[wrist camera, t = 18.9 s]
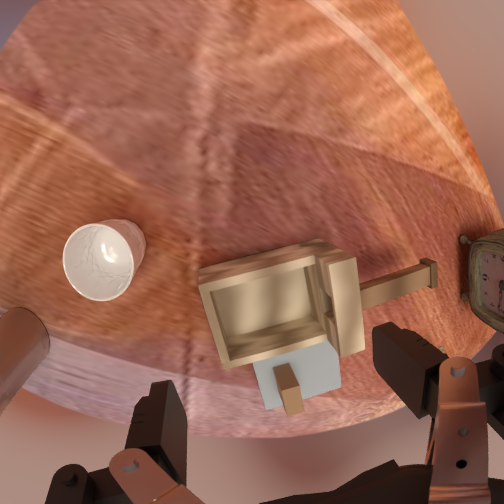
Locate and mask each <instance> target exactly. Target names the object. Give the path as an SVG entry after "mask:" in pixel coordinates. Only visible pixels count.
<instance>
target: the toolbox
mask: <svg viewBox="0 0 504 504" xmlns="http://www.w3.org/2000/svg"><path fill="white" fill-rule="evenodd" d="M198 288H199V291H200V295H201V298H202V301H203V305H204V308H205V311H206V315H207V318H208V321H209V325H210V328H211V331H212V334H213V337H214V340H215V344H216V347H217V350H218V353H219V356H220V359H221V362H222V365H223V368H224V369H228V368H233V367H237V366H241V365H245V364H248V363H252V362H256V361H260V360H264V359H267V358H271V357H274V356H278V355H282V354H285V353H288V352H292V351H295V350H299V349H302V348H305V347H308V346H312V345H315V344H318V343H321V342H324V341H327V340H328V341H329V343H330V344H331V345H332V347H333V348H334V349H335V351H336V352H337V353H338V354H339V356H340V357H341V358H342V357H345V356H348V355H350V354H353V353H356V352H359V351H361V350H364V349H365V341H364V328H363V317H362V306H361V296H360V287H359V279H358V270H357V263H356V257H354V256H352V255H350V254H349V253H347V252H345V251H343V250H341V249H339V248H337V247H335V246H333V245H331V244H329V243H327V242H325V241H323V240H321V239H319V238H317V239H313V240H309V241H305V242H301V243H297V244H294V245H290V246H286V247H282V248H278V249H274V250H270V251H266V252H262V253H258V254H254V255H250V256H246V257H243V258H239V259H235V260H231V261H227V262H223V263H219V264H215V265H211V266H207V267H203V268H199V276H198Z"/></svg>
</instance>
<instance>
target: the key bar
mask: <svg viewBox="0 0 504 504" xmlns="http://www.w3.org/2000/svg"><path fill="white" fill-rule="evenodd" d="M437 286H438V282H437V262H436V261H433V260H431V259H428V258H423V259H420V264H417V265H415V266H412V267H409V268H406V269H403V270H400V271H397V272H394V273H391V274H388V275H385V276H382V277H379V278H376V279H373V280H370V281H367V282H364V283H360V284H359V287H360V296H361V306H362V310H365V309H367V308H370V307H373V306H376V305H379V304H382V303H384V302H387V301H390V300H393V299H395V298H398V297H401V296H403V295H406V294H409V293H411V292H414V291H416V290H419V289H421V288H424V287H429V288H431V289H432V288H435V287H437Z"/></svg>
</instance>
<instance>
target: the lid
mask: <svg viewBox="0 0 504 504" xmlns="http://www.w3.org/2000/svg"><path fill="white" fill-rule="evenodd" d="M253 366H254V370H255V373H256V377H257V380H258V384H259V387H260V391H261V394H262V398H263V401H264V405H265V408H266V410H268V409H272V408H276V407H279V406H284V409H285V411H286V414H287V417H288V416H291V415H295V414H298V413H301V412H304V411H305V410H304V405H303V399H306V398H310V397H313V396H316V395H319V394H322V393H325V392H328V391H331V390H334V389H336V388H339V387H341V378H340V368H339V359H338V353H337V352H336V351H335V349H334V348H333V347H332V345H331V344H330V343H329V341H328V340H327V341H324V342H321V343H318V344H315V345H312V346H308V347H305V348H302V349H299V350H295V351H292V352H288V353H285V354H282V355H278V356H274V357H271V358H267V359H264V360H260V361H256V362H253Z"/></svg>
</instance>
